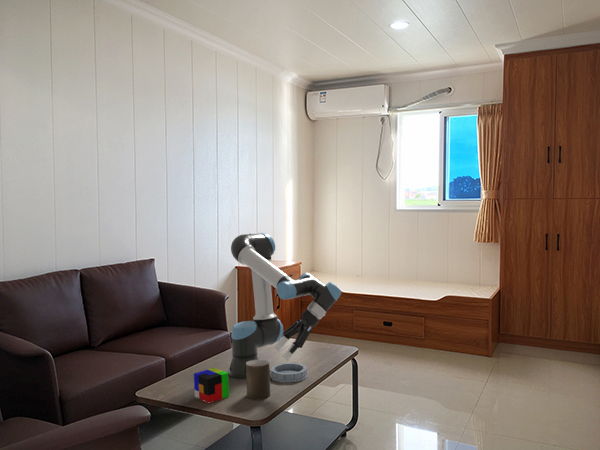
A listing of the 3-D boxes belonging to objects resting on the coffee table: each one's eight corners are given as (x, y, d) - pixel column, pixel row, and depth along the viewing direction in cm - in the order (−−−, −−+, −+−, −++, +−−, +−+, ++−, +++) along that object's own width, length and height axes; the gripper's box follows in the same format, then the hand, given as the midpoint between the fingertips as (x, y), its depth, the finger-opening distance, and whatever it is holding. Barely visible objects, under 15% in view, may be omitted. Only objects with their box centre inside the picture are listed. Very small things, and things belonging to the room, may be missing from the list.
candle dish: (263, 379, 229) (263, 371, 229) (281, 368, 244) (281, 360, 244) (297, 385, 221) (297, 376, 221) (314, 372, 236) (313, 365, 236)
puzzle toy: (194, 397, 210) (193, 373, 210) (214, 390, 217) (214, 367, 217) (208, 403, 203) (207, 379, 203) (229, 396, 210) (228, 372, 210)
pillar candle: (267, 400, 205) (266, 363, 204) (243, 399, 206) (243, 362, 206) (272, 391, 215) (271, 356, 214) (250, 390, 216) (249, 355, 216)
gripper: (329, 326, 205) (295, 368, 201) (309, 314, 229) (278, 351, 225) (316, 314, 203) (281, 356, 199) (298, 303, 227) (266, 340, 223)
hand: (280, 354), depth 212 cm, fingers open, 13 cm apart
